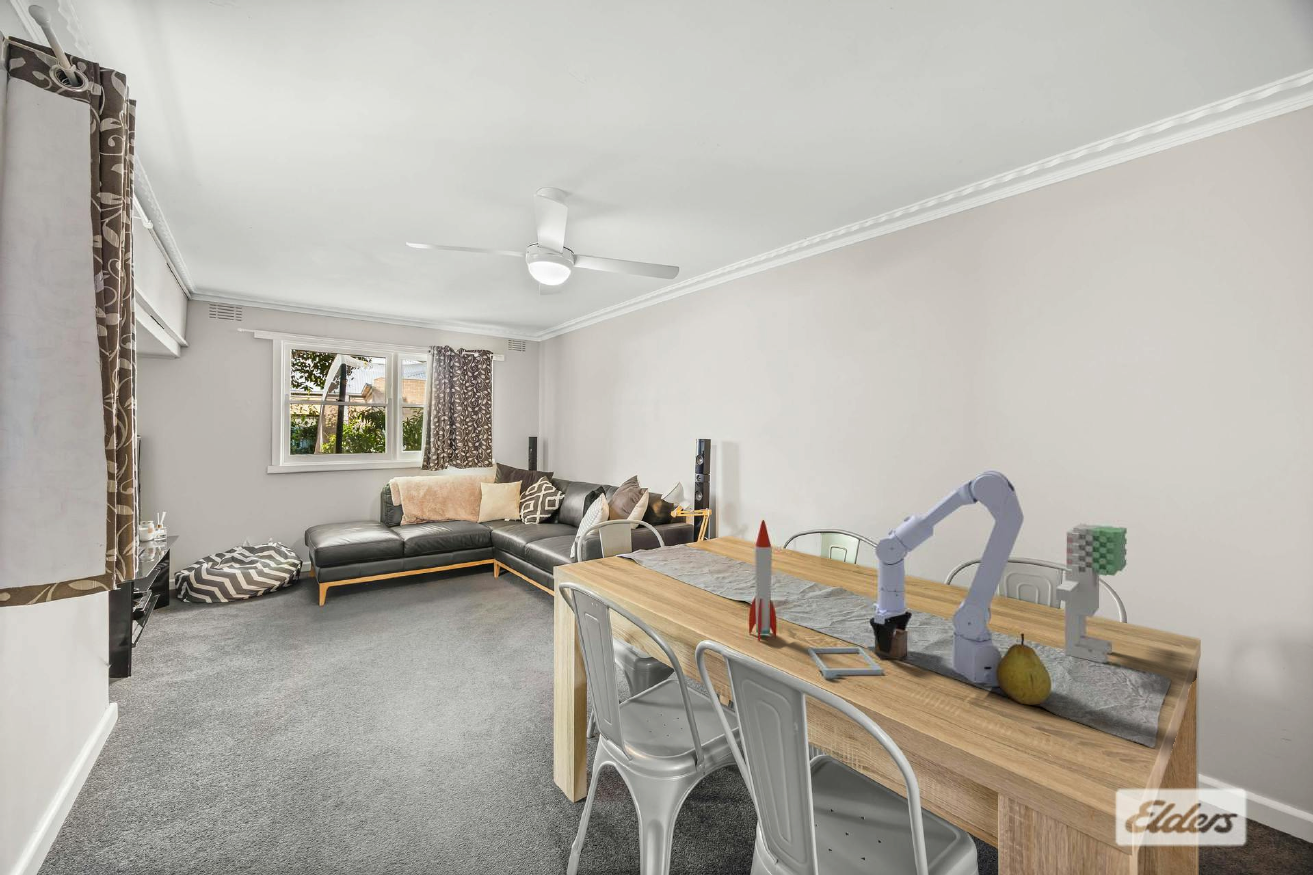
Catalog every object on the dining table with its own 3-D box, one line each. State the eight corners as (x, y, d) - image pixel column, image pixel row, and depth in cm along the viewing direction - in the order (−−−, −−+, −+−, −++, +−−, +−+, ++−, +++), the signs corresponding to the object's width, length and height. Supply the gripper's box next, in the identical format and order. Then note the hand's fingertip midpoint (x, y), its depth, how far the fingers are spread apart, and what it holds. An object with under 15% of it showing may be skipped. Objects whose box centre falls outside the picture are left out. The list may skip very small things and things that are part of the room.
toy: (1114, 681, 115) (1115, 538, 115) (1055, 666, 122) (1056, 532, 122) (1130, 643, 136) (1131, 522, 136) (1079, 632, 143) (1080, 518, 143)
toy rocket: (758, 641, 137) (758, 522, 137) (748, 633, 143) (748, 518, 142) (778, 638, 139) (778, 521, 139) (767, 631, 144) (767, 517, 144)
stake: (916, 664, 124) (916, 634, 124) (881, 664, 123) (881, 634, 123) (900, 650, 132) (900, 622, 132) (867, 650, 131) (867, 622, 131)
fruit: (1032, 713, 102) (1032, 649, 102) (986, 692, 110) (986, 632, 110) (1062, 705, 105) (1062, 642, 105) (1015, 684, 113) (1015, 627, 113)
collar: (898, 659, 124) (898, 637, 124) (870, 651, 128) (870, 630, 128) (907, 652, 128) (907, 631, 128) (879, 645, 132) (879, 624, 132)
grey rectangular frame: (882, 678, 116) (882, 669, 116) (825, 679, 116) (825, 669, 116) (859, 655, 128) (859, 647, 128) (808, 656, 128) (808, 647, 128)
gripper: (885, 579, 135) (885, 634, 135) (861, 591, 125) (860, 650, 125) (915, 584, 131) (915, 641, 131) (892, 598, 120) (892, 659, 120)
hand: (890, 646), depth 127 cm, fingers open, 7 cm apart
